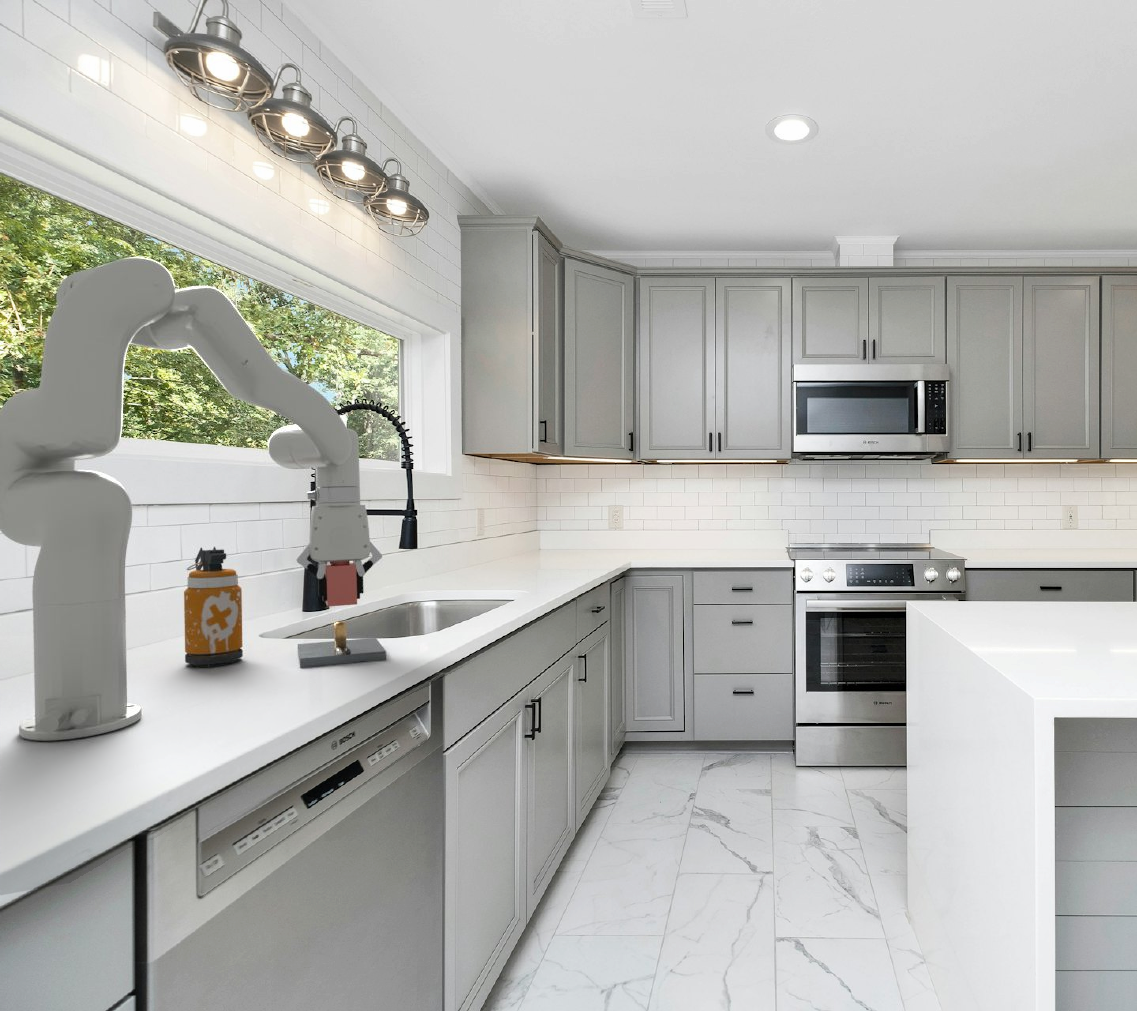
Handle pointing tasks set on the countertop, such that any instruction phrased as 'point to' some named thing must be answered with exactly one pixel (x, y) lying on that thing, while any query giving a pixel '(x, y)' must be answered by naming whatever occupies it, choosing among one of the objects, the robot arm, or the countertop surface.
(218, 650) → the canister
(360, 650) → the grey plate with peg
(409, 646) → the countertop surface
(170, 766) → the countertop surface
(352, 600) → the pink cube with dome
